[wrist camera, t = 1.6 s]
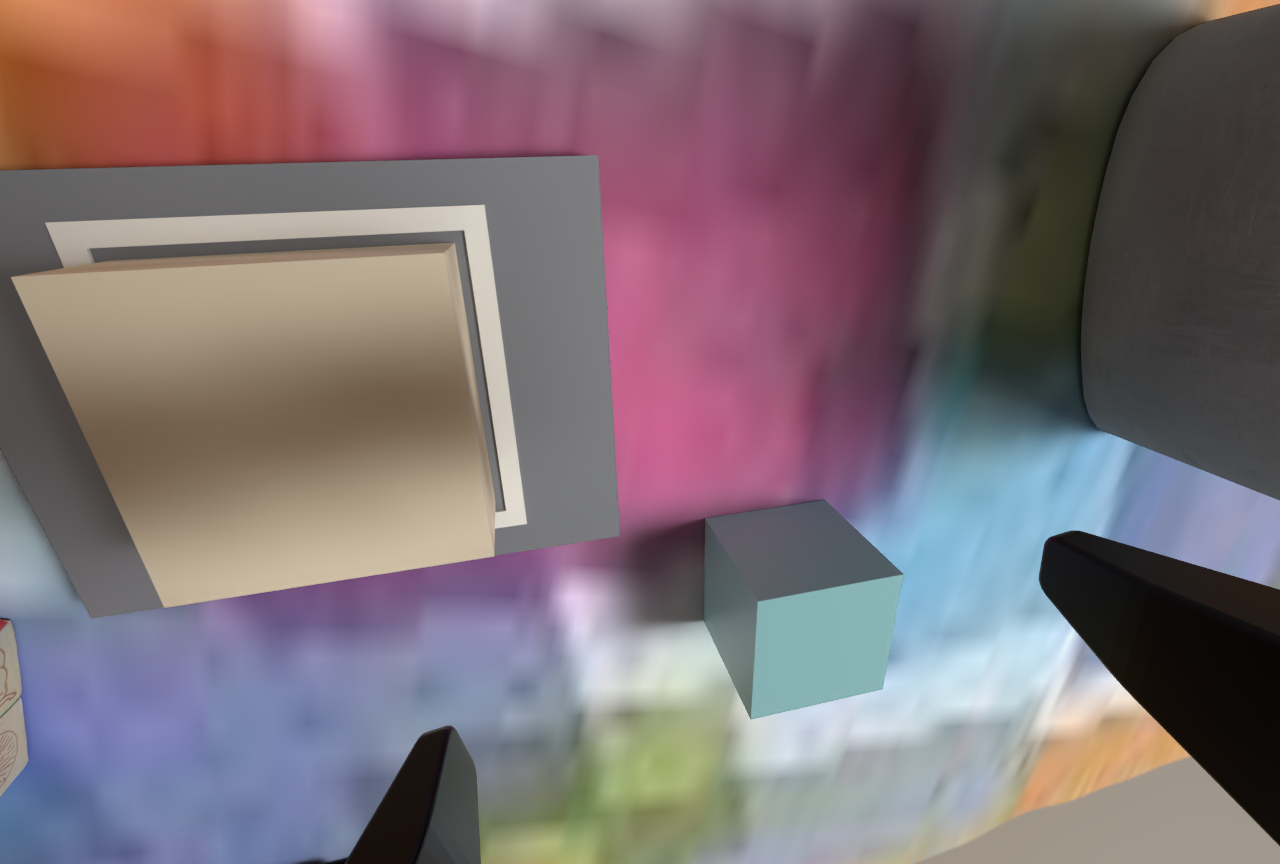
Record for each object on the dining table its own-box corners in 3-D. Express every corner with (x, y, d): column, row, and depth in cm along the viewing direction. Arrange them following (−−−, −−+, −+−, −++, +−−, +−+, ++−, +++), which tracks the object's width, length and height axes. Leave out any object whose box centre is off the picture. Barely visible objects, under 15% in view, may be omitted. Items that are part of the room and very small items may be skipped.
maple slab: (495, 502, 18) (494, 556, 15) (219, 541, 17) (164, 607, 14) (454, 242, 15) (444, 252, 12) (108, 260, 13) (10, 276, 11)
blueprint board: (614, 521, 21) (620, 537, 20) (111, 596, 18) (88, 620, 17) (592, 157, 16) (598, 155, 15) (-102, 175, 13) (-152, 173, 12)
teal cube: (812, 598, 24) (882, 689, 20) (703, 619, 24) (750, 719, 19) (823, 498, 23) (903, 574, 18) (704, 517, 22) (757, 601, 17)
